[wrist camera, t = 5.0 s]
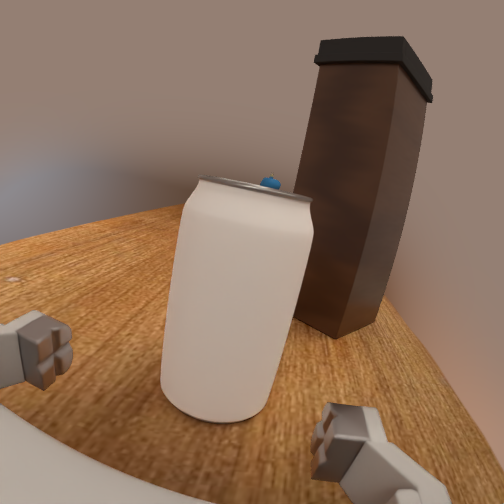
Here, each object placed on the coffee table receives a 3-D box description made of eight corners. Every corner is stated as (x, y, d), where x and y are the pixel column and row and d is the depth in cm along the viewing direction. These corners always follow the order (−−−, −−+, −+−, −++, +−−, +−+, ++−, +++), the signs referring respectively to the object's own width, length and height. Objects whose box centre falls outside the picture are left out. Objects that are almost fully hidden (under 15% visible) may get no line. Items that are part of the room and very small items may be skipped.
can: (207, 351, 22) (241, 181, 20) (285, 394, 19) (339, 204, 17) (136, 381, 17) (161, 168, 14) (222, 445, 14) (282, 194, 11)
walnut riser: (374, 321, 35) (427, 101, 29) (335, 339, 29) (399, 63, 23) (314, 293, 41) (360, 95, 35) (266, 302, 35) (319, 64, 29)
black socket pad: (432, 103, 29) (434, 80, 29) (402, 61, 22) (404, 35, 22) (358, 96, 36) (361, 76, 35) (313, 62, 29) (317, 39, 28)
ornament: (274, 231, 86) (286, 175, 83) (262, 230, 82) (275, 172, 79) (259, 226, 89) (271, 172, 86) (247, 225, 85) (259, 169, 82)
